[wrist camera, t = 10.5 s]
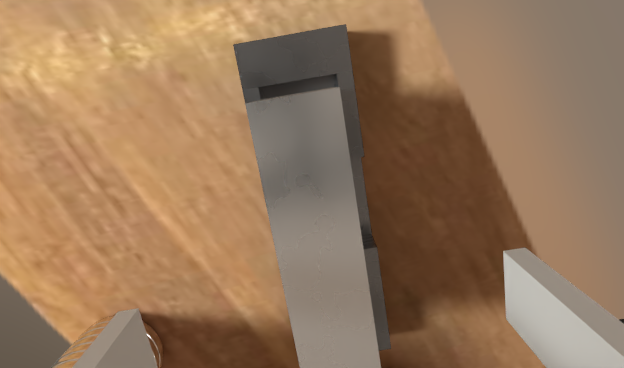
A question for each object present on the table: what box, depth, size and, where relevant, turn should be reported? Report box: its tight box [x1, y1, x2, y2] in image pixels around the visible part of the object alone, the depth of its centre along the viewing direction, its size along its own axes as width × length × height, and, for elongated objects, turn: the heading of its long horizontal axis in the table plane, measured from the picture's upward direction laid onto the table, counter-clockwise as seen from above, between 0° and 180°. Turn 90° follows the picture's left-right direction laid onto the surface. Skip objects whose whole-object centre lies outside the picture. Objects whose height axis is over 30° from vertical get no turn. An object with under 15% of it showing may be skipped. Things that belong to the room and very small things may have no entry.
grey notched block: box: [245, 87, 381, 368], centre depth 23 cm, size 16×4×11 cm, turn 10°
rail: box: [233, 24, 391, 350], centre depth 28 cm, size 23×7×3 cm, turn 10°
